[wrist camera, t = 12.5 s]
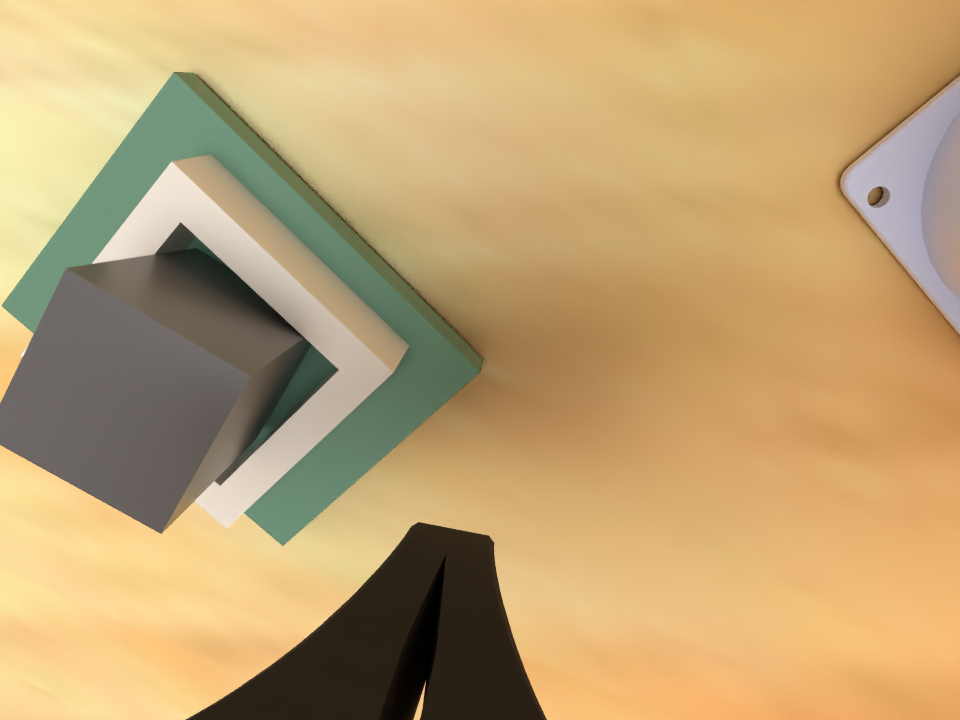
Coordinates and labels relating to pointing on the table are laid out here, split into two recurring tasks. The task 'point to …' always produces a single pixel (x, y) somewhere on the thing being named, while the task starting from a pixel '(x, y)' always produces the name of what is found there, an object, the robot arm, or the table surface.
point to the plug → (148, 380)
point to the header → (287, 289)
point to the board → (122, 185)
